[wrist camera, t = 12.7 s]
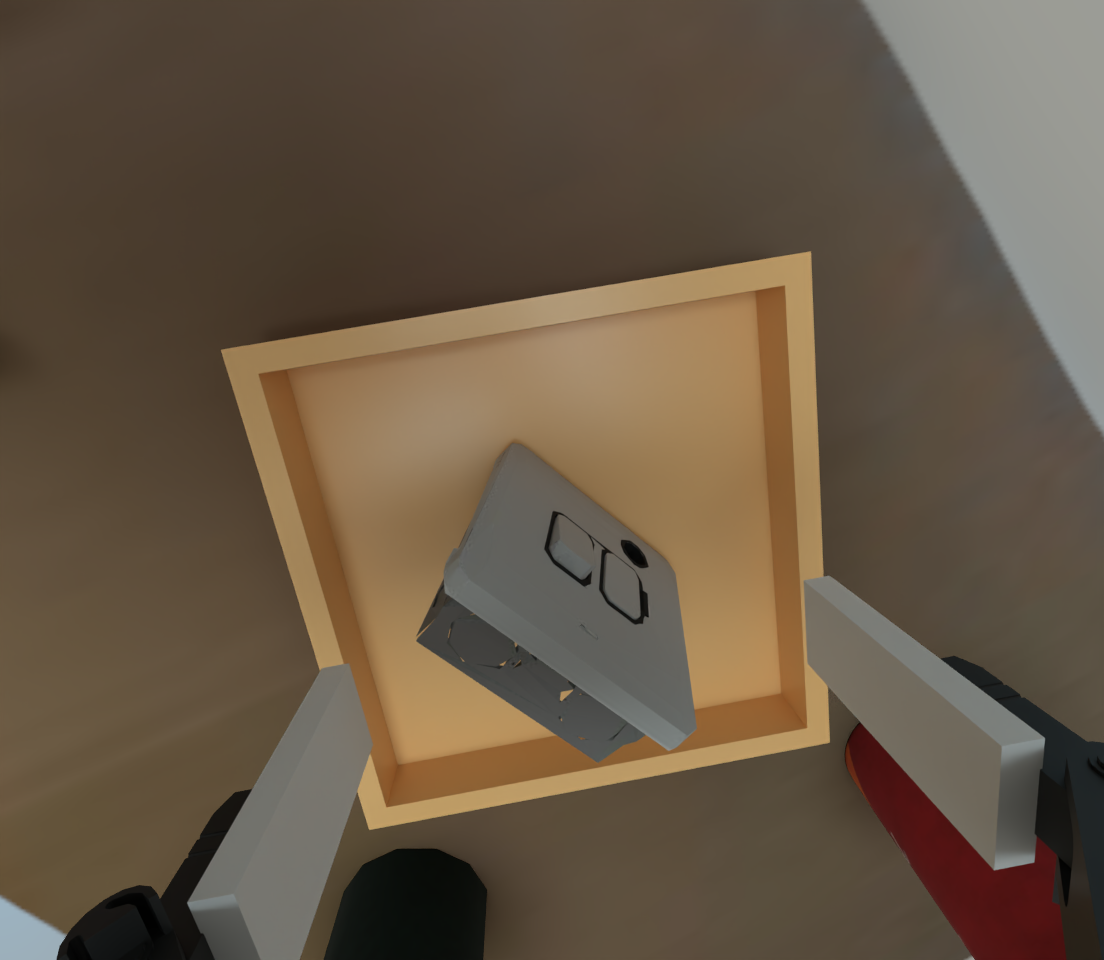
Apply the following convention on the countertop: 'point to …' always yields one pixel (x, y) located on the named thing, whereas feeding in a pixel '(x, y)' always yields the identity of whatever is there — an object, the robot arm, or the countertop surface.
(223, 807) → the robot arm
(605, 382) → the wooden tray
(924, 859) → the paper cup
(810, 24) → the countertop surface
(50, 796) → the countertop surface
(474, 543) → the electrical switch
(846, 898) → the countertop surface
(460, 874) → the wine bottle
